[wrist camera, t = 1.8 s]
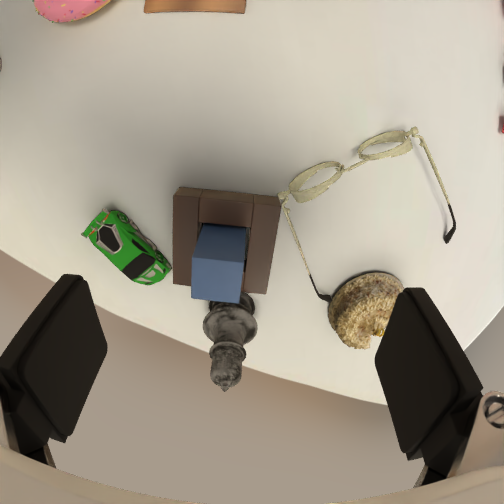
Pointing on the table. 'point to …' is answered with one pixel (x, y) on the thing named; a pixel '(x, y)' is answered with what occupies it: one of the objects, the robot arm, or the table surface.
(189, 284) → the brown square frame
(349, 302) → the cake
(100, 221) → the toy car
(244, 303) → the grey chess piece
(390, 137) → the gold eyeglasses
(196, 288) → the peg
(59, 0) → the doughnut
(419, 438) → the robot arm
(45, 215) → the table surface
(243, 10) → the cork mat
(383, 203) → the table surface
